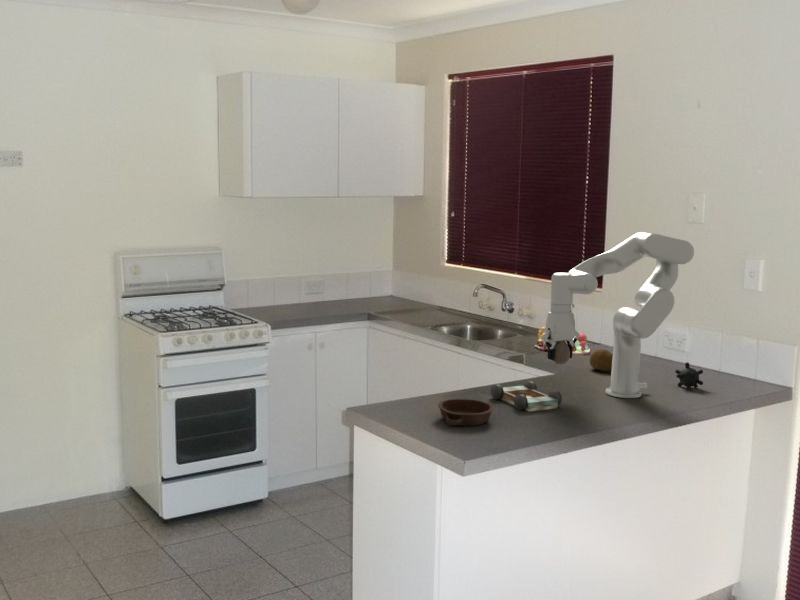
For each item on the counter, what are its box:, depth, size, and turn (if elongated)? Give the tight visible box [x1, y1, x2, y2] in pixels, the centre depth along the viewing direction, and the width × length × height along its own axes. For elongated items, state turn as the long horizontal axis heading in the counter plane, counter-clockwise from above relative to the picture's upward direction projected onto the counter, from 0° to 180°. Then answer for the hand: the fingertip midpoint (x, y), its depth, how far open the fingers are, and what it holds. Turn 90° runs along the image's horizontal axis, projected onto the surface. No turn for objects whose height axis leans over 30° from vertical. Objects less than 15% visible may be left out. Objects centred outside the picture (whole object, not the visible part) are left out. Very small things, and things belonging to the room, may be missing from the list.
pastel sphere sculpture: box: [534, 326, 591, 355], centre depth 392 cm, size 25×24×9 cm
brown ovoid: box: [551, 341, 570, 365], centre depth 305 cm, size 7×7×9 cm
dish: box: [437, 398, 495, 427], centre depth 273 cm, size 18×22×5 cm
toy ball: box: [674, 361, 704, 391], centre depth 326 cm, size 10×10×11 cm
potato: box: [589, 349, 613, 373], centre depth 349 cm, size 8×12×9 cm
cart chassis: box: [490, 380, 563, 413], centre depth 297 cm, size 16×20×5 cm
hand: (559, 358), depth 305 cm, fingers closed on brown ovoid, 7 cm apart
